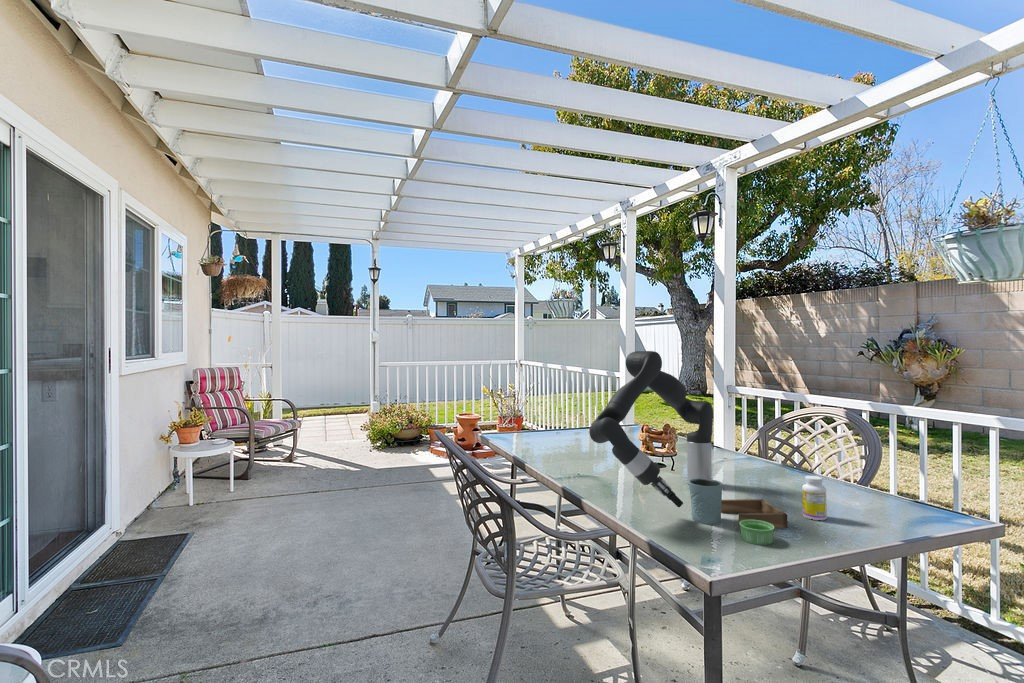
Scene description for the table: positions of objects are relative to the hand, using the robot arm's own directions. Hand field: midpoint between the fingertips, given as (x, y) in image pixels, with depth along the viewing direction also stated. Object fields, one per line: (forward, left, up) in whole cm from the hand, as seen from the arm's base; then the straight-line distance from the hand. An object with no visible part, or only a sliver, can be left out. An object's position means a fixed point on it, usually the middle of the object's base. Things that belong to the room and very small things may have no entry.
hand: (680, 504), depth 161 cm
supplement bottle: (-1, +43, -5) cm, 43 cm away
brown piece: (0, +22, -5) cm, 23 cm away
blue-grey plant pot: (0, +8, -5) cm, 9 cm away
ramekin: (+17, +16, -5) cm, 24 cm away
